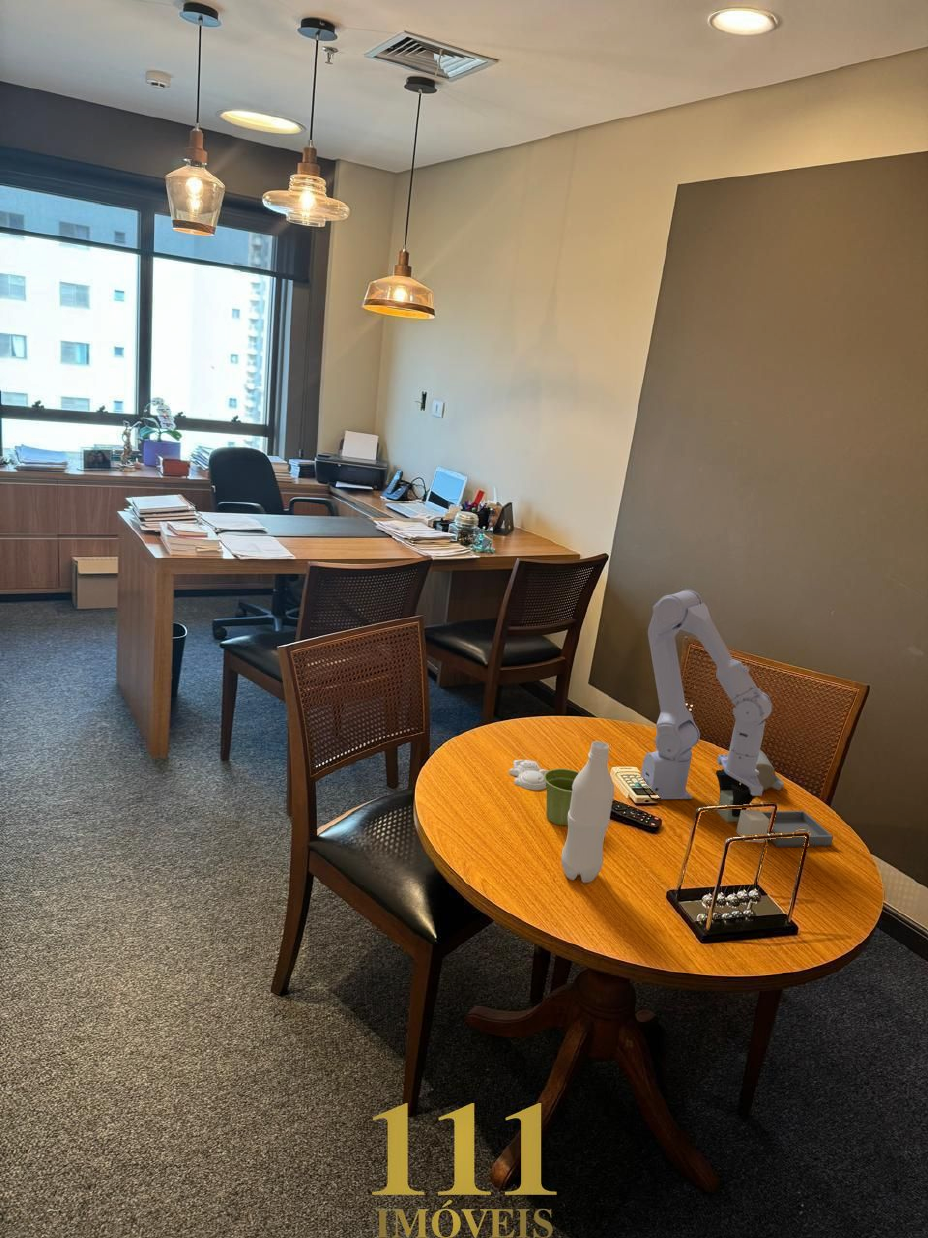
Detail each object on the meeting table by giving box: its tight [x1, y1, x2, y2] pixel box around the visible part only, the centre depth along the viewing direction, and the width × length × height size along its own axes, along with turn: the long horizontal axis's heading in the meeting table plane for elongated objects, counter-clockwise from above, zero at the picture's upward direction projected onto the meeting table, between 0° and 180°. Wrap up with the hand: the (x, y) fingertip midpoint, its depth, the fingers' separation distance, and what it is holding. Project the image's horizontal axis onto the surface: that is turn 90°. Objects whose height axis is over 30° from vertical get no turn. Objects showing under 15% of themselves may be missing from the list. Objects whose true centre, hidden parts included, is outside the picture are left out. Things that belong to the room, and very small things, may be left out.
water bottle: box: [560, 740, 615, 884], centre depth 142 cm, size 7×7×25 cm
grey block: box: [736, 809, 770, 843], centre depth 164 cm, size 4×4×5 cm
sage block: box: [716, 790, 739, 823], centre depth 172 cm, size 4×4×5 cm
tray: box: [760, 810, 834, 848], centre depth 167 cm, size 12×10×2 cm
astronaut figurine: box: [508, 759, 548, 791], centre depth 180 cm, size 9×12×3 cm
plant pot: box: [544, 768, 580, 827], centre depth 163 cm, size 9×9×9 cm
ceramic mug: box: [756, 749, 785, 791], centre depth 187 cm, size 11×8×8 cm
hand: (731, 810), depth 172 cm, fingers open, 4 cm apart
